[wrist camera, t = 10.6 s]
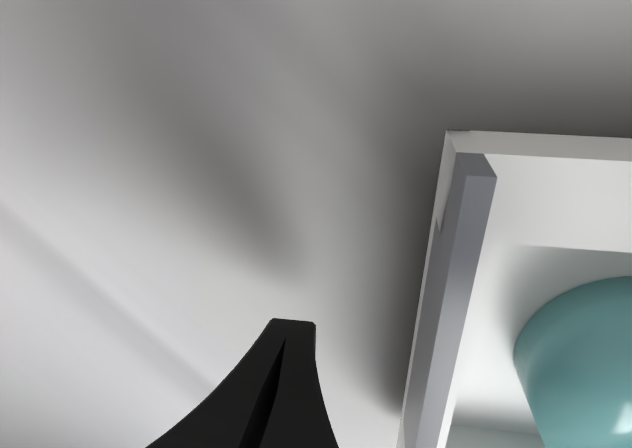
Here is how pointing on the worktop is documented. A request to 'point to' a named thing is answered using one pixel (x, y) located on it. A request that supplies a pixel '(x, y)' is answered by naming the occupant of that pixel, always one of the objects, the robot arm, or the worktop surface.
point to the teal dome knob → (580, 366)
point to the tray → (506, 273)
